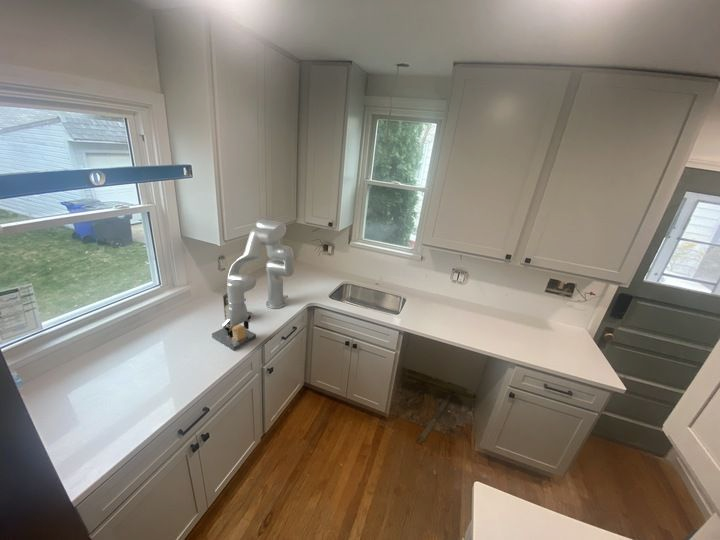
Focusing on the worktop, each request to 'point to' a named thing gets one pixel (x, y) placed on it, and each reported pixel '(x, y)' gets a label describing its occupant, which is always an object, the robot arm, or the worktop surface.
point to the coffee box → (225, 303)
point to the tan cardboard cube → (239, 332)
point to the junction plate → (231, 342)
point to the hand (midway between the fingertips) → (238, 332)
